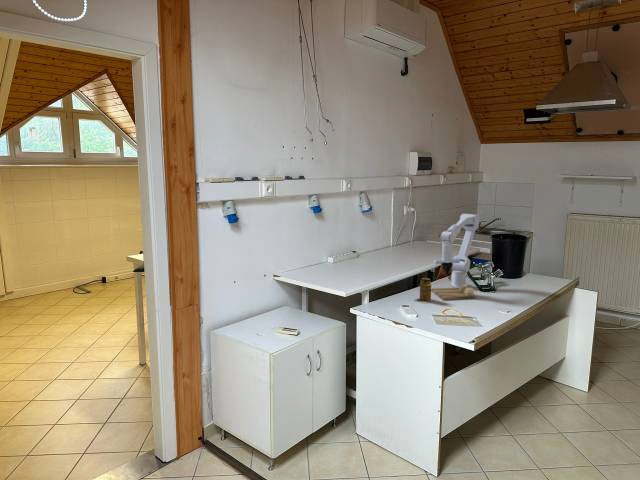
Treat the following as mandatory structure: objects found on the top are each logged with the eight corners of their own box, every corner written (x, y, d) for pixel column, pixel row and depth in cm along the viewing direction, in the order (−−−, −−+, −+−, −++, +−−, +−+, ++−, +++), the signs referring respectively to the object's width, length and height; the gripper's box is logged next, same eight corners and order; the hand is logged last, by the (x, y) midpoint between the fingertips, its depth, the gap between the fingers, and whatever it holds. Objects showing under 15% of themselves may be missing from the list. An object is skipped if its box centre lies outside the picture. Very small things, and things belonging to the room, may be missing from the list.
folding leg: (458, 289, 272) (458, 284, 272) (464, 288, 273) (464, 283, 272) (467, 294, 261) (467, 289, 261) (473, 294, 262) (473, 289, 261)
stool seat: (431, 291, 276) (431, 288, 276) (461, 289, 278) (461, 286, 278) (443, 300, 258) (443, 297, 258) (474, 298, 261) (475, 295, 260)
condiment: (434, 300, 260) (434, 278, 257) (425, 303, 254) (425, 281, 252) (422, 297, 265) (423, 276, 263) (413, 300, 259) (414, 279, 257)
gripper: (437, 254, 266) (436, 277, 269) (462, 253, 268) (461, 276, 270) (433, 251, 273) (432, 274, 276) (457, 250, 275) (456, 273, 277)
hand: (446, 275), depth 273 cm, fingers closed
